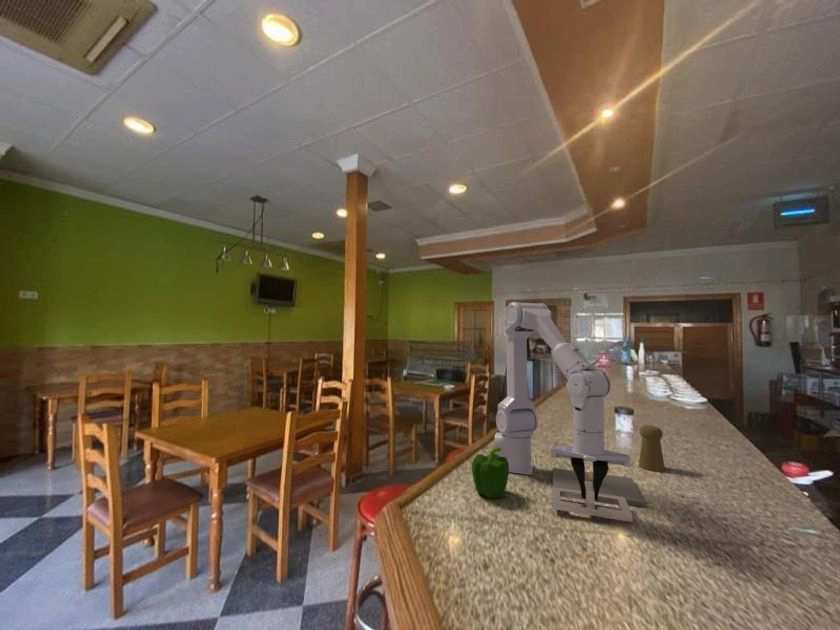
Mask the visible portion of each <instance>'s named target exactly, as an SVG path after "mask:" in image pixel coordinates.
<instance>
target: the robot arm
mask: <svg viewBox="0 0 840 630" xmlns="http://www.w3.org/2000/svg"><path fill="white" fill-rule="evenodd" d="M503 316H504V319H503V320H504V321H503V323H504V333H505V335H506V337H505V338H506V397H504V399H502V400H501V401H500V402H499V403H498V404H497V413H496V417H495V423H496V427H497V429H498V432H496V433H495V435H494V443H493V445H494V446H493V448H495V447H499V448H501V450H500V451H499V452H498V451H496V452H495V453H494V454H497V455H499V456H500V457H506V458H507V461H508V465H509V473H514V474H522V475H528V476H529V475H530V476H532V475H533V470H534V463H533V462H532V436H534V432H535V431H536V430H537V428H538V426H539V418H538V415H537V412H536V405H535V403H533V401H531V399H529V398H528V395H529V394H528V349H527V348H528V346H527V345H528V343H527V339H529V337H530V336H531V335H532V334H534V333H536V332H537V334H538V335H539V336H540V337H541V339H542V340H543V341H544V342H545V344H547V346H549V348H550V349H551V350H552V354H551V355H552V356H551V357H552V360H553V362H554V363H555V364H556V366H557V367H558V369H559V370H560V371H561V373H562V374H563V376H564V377H565V379H566V380H567V382H566V389H567V392H568V394H569V396H570V404H571V405H572V407H573V408H572V409H573V410H572V411H573V412H572V413H573V415H572V416H573V419H572V420H573V422H572V423H573V424H572V425H573V429H572V430H573V446H568V445H567V446H566V445H565V446H563V445H562V446H561V445H550V458H552V459H557V458H561V459H569V460H570V462H571V463H570V464H571V467H572V469H573V470H574V471H575V474H576V476H577V479H578V481H579V484H580V488H581V496H582V498H585V499H586V491H585V472H586V467H585V462H592V472H593V488H594V498H595V500H597V499H598V493H599V489H600V486H601V484H602V482H603V479H604V478H605V476H606V475H608V472H609V470H610V469H609V464H610V465H618V466H619V465H620V466H624V467H627V468H630V467H631V457H630V455H629V454H628V453H623V452H618V451H617V452H616V451H612V450H607V449H606V450H605V397H607V396H608V395H609V393H610V391H611V387H612V386H611V380H610V377H609V376H608V374H607V373H606V371H605V370H603V369H599V368H596V367H595V366H593V365H592V364H591V362H589V361H588V359H587V358H586V356H585V355H584V354H583V353H582V352H581V350H580V349H581V348H580V347H579V346H578V345H577V344H575V343H573V342H572V343H571V342H567V341H566V340H565V338H564V336H563V335H562V333H561V332H560V330H559V329H558V327H557V326H556V324H555V323H554V321H553V319H552V311H551V310H550V309H549V307H548V305H547V304H545V303H543V302H542V303H541V302H539V303H533V302H532V303H530V302H529V303H527V302H516V301H513V302H510V303H509V304H508V305H507V307H506V309H505V310H504V313H503Z"/></svg>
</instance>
